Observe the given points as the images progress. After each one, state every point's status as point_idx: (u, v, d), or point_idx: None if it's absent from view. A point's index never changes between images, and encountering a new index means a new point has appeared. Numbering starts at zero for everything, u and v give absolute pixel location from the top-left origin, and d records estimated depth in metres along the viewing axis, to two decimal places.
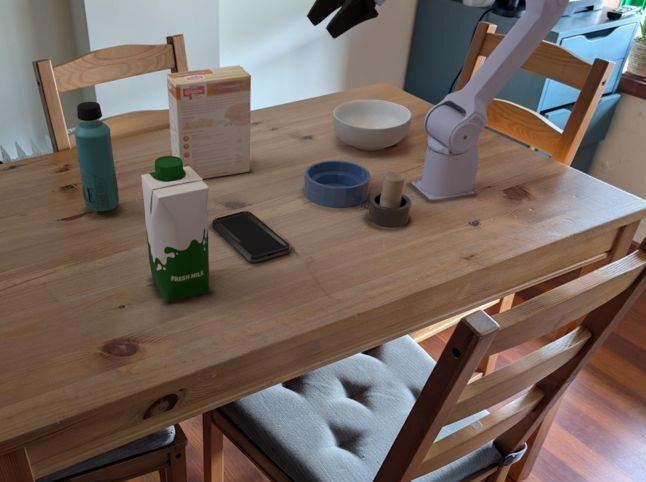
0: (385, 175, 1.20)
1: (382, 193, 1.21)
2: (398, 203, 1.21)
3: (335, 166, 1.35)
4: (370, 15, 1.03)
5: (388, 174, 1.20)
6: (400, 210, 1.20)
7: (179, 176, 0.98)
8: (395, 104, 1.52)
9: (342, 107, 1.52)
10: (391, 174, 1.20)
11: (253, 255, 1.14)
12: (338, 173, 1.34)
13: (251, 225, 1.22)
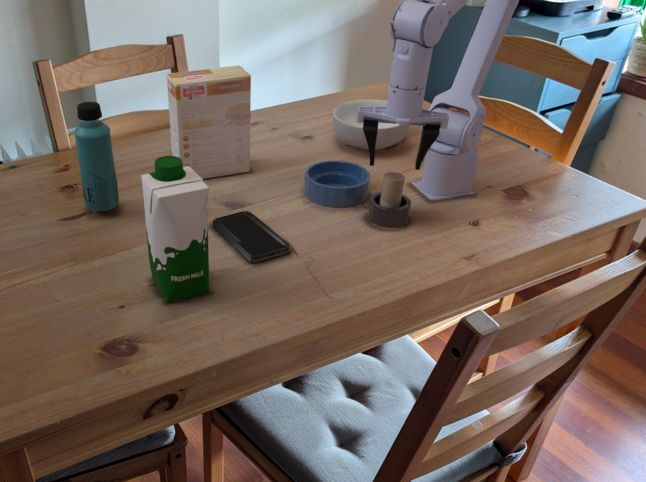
0: (385, 175, 1.20)
1: (382, 193, 1.21)
2: (398, 203, 1.21)
3: (335, 166, 1.35)
4: None
5: (388, 174, 1.20)
6: (400, 210, 1.20)
7: (179, 176, 0.98)
8: None
9: (342, 107, 1.52)
10: (391, 174, 1.20)
11: (253, 255, 1.14)
12: (338, 173, 1.34)
13: (251, 225, 1.22)
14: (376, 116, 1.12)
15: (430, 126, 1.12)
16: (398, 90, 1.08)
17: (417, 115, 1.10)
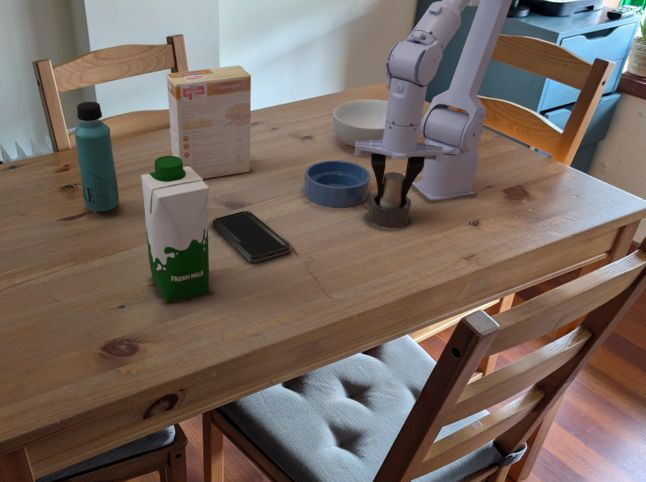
0: (385, 175, 1.20)
1: (382, 193, 1.21)
2: (398, 203, 1.21)
3: (335, 166, 1.35)
4: None
5: (388, 174, 1.20)
6: (400, 210, 1.20)
7: (179, 176, 0.98)
8: None
9: (342, 107, 1.52)
10: (391, 174, 1.20)
11: (253, 255, 1.14)
12: (338, 173, 1.34)
13: (251, 225, 1.22)
14: (373, 150, 1.15)
15: (415, 158, 1.16)
16: (394, 126, 1.12)
17: (413, 149, 1.14)
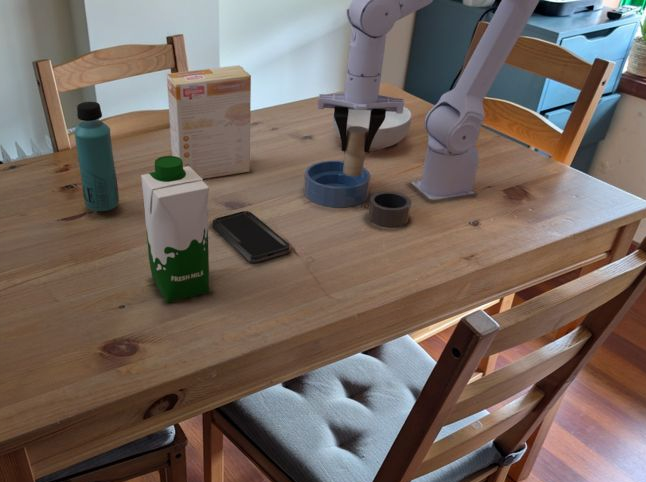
0: (349, 128, 1.22)
1: (346, 147, 1.23)
2: (362, 156, 1.23)
3: (335, 166, 1.35)
4: None
5: (352, 128, 1.22)
6: (400, 210, 1.20)
7: (179, 176, 0.98)
8: None
9: None
10: (354, 128, 1.22)
11: (253, 255, 1.14)
12: (338, 173, 1.34)
13: (251, 225, 1.22)
14: (335, 102, 1.18)
15: (376, 110, 1.18)
16: (355, 77, 1.14)
17: (374, 101, 1.16)
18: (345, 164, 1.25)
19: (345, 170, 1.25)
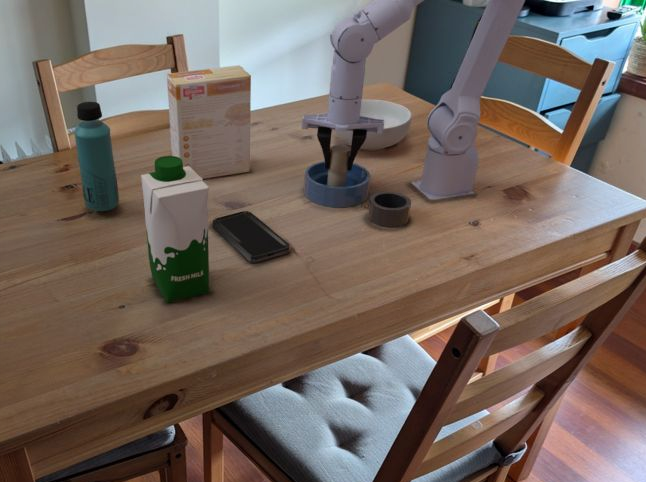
0: (332, 147, 1.27)
1: (329, 165, 1.28)
2: (344, 174, 1.28)
3: None
4: None
5: (335, 147, 1.27)
6: (400, 210, 1.20)
7: (179, 176, 0.98)
8: (395, 104, 1.52)
9: None
10: (337, 147, 1.27)
11: (253, 255, 1.14)
12: None
13: (251, 225, 1.22)
14: (318, 123, 1.23)
15: (358, 131, 1.23)
16: (336, 100, 1.19)
17: (355, 122, 1.21)
18: (329, 181, 1.30)
19: None
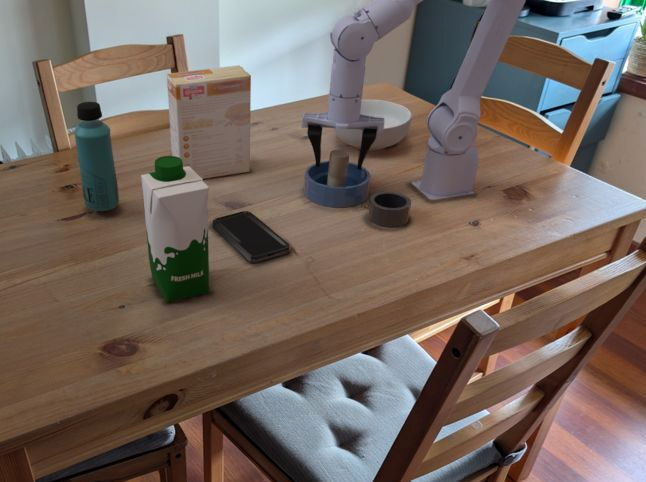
0: (331, 152, 1.28)
1: (329, 169, 1.29)
2: (344, 178, 1.29)
3: None
4: None
5: (334, 151, 1.28)
6: (400, 210, 1.20)
7: (179, 176, 0.98)
8: (395, 104, 1.52)
9: None
10: (337, 151, 1.28)
11: (253, 255, 1.14)
12: None
13: (251, 225, 1.22)
14: (319, 122, 1.23)
15: (368, 130, 1.23)
16: (336, 98, 1.19)
17: (355, 120, 1.21)
18: (328, 185, 1.31)
19: None
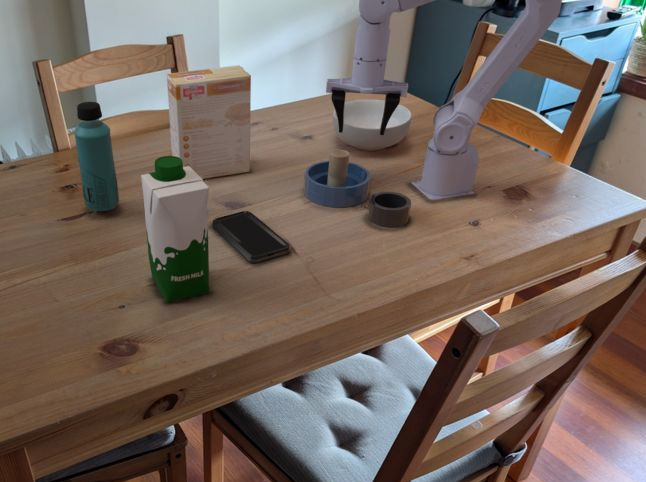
0: (331, 152, 1.28)
1: (329, 169, 1.29)
2: (344, 178, 1.29)
3: None
4: None
5: (334, 151, 1.28)
6: (400, 210, 1.20)
7: (179, 176, 0.98)
8: None
9: None
10: (337, 151, 1.28)
11: (253, 255, 1.14)
12: None
13: (251, 225, 1.22)
14: (343, 86, 1.24)
15: (391, 95, 1.24)
16: (361, 62, 1.20)
17: (379, 85, 1.23)
18: (328, 185, 1.31)
19: None
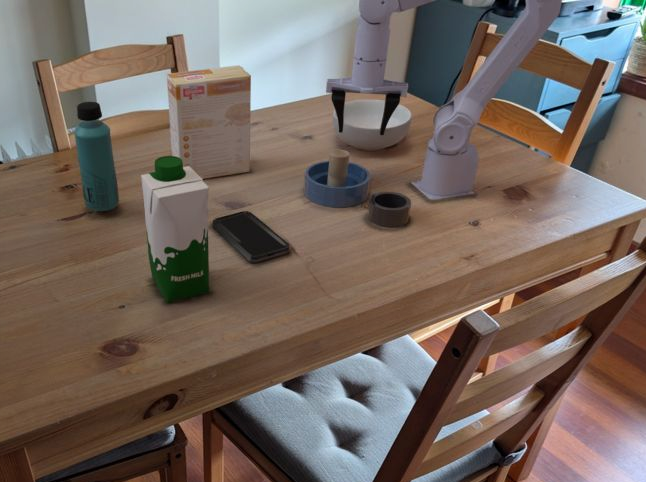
0: (331, 152, 1.28)
1: (329, 169, 1.29)
2: (344, 178, 1.29)
3: None
4: None
5: (334, 151, 1.28)
6: (400, 210, 1.20)
7: (179, 176, 0.98)
8: None
9: None
10: (337, 151, 1.28)
11: (253, 255, 1.14)
12: None
13: (251, 225, 1.22)
14: (343, 86, 1.24)
15: (391, 95, 1.24)
16: (361, 62, 1.20)
17: (379, 85, 1.23)
18: (328, 185, 1.31)
19: None
